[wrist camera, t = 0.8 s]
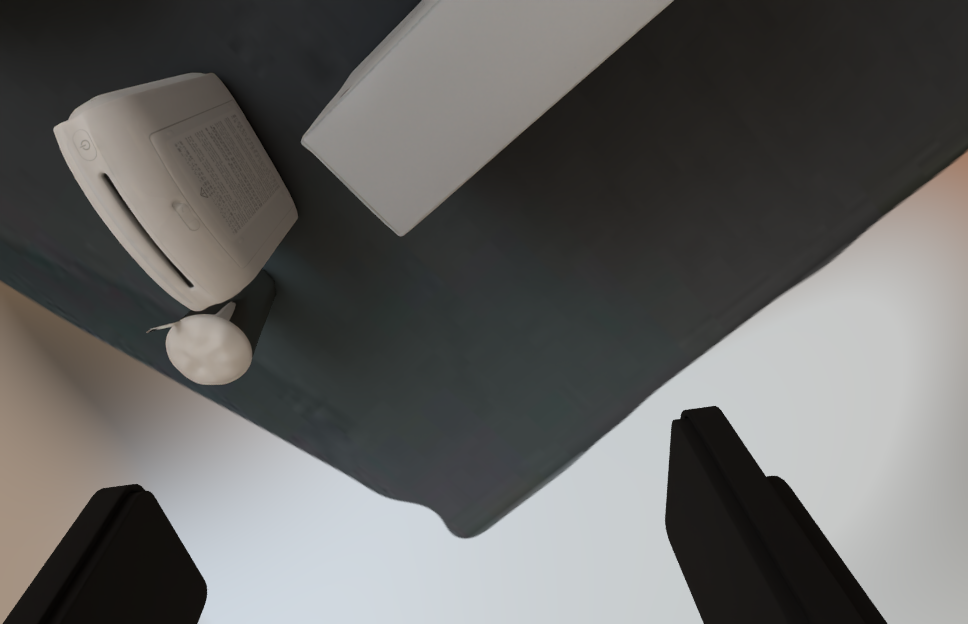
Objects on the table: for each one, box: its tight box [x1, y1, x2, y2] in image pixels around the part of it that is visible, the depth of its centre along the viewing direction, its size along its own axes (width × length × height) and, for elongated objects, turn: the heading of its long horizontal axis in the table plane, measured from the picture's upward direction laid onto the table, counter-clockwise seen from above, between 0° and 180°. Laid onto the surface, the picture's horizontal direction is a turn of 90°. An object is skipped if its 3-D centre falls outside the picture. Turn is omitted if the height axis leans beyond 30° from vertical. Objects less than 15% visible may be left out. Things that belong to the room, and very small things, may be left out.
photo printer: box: [54, 73, 298, 311], centre depth 28 cm, size 10×4×12 cm, turn 21°
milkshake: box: [146, 269, 276, 385], centre depth 33 cm, size 4×5×10 cm
